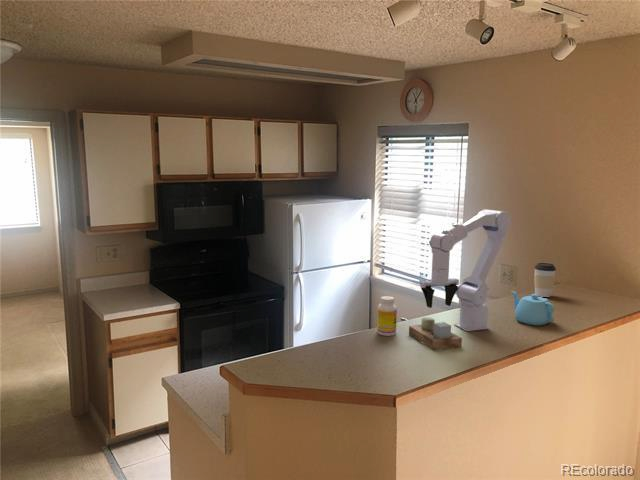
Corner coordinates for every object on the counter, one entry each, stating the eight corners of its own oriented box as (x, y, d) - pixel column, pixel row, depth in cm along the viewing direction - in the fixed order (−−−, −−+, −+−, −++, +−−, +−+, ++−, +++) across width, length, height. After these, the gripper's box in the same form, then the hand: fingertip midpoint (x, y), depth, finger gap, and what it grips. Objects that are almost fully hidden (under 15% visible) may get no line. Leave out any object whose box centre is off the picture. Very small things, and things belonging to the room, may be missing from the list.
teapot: (519, 286, 204) (563, 296, 190) (517, 312, 206) (561, 324, 191) (501, 291, 196) (546, 301, 182) (499, 318, 198) (544, 330, 184)
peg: (443, 342, 171) (444, 321, 170) (450, 346, 167) (451, 325, 166) (432, 343, 169) (433, 323, 168) (439, 347, 166) (440, 326, 165)
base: (433, 331, 182) (434, 314, 181) (461, 346, 166) (462, 329, 165) (408, 334, 178) (409, 317, 177) (435, 350, 163) (435, 332, 162)
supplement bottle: (395, 337, 175) (396, 300, 173) (376, 335, 176) (377, 299, 174) (396, 330, 182) (397, 295, 180) (377, 329, 183) (378, 294, 181)
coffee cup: (534, 297, 228) (537, 265, 226) (530, 292, 237) (532, 261, 235) (556, 298, 227) (559, 265, 225) (550, 293, 236) (553, 262, 233)
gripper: (451, 264, 182) (449, 301, 184) (416, 267, 177) (414, 304, 179) (463, 268, 175) (461, 306, 177) (427, 271, 170) (425, 310, 172)
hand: (438, 306), depth 178 cm, fingers open, 7 cm apart
